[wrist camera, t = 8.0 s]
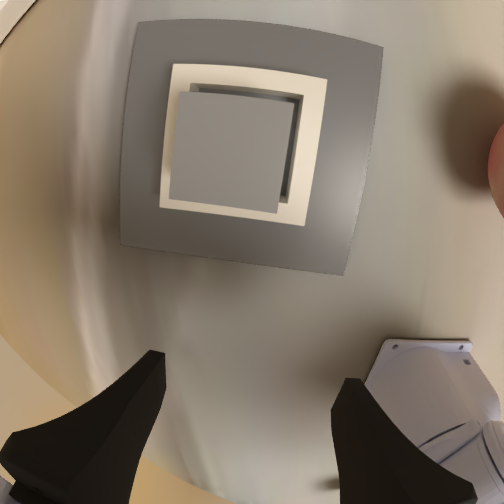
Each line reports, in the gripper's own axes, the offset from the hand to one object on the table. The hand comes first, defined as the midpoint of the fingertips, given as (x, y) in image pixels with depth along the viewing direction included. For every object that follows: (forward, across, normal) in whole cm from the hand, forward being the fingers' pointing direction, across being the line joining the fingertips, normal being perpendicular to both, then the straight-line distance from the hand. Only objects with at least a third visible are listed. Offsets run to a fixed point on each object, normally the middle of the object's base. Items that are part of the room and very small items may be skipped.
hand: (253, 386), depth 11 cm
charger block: (+8, +2, -8) cm, 12 cm away
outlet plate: (+9, +2, -8) cm, 13 cm away
